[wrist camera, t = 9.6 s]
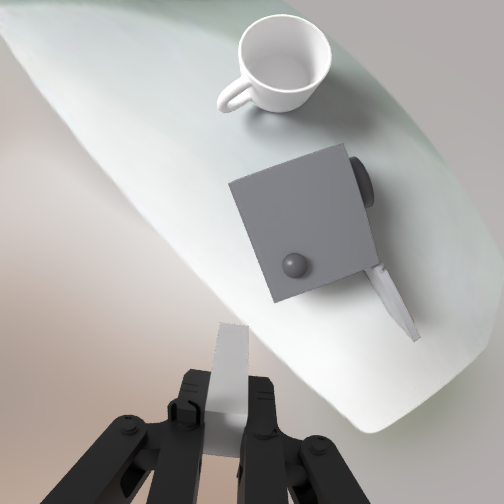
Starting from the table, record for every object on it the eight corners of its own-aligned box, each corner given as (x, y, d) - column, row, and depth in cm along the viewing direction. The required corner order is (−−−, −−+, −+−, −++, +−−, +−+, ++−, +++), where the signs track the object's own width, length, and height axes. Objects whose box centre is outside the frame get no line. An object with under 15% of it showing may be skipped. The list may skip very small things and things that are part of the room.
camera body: (233, 180, 36) (227, 183, 26) (339, 144, 35) (367, 135, 25) (269, 274, 39) (275, 307, 29) (368, 238, 38) (402, 259, 28)
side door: (388, 314, 40) (413, 342, 32) (350, 248, 38) (373, 267, 30) (398, 307, 40) (424, 334, 32) (361, 240, 37) (386, 257, 30)
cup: (325, 91, 33) (350, 65, 23) (243, 145, 35) (240, 135, 25) (283, 40, 31) (293, 1, 22) (202, 92, 33) (185, 65, 23)
